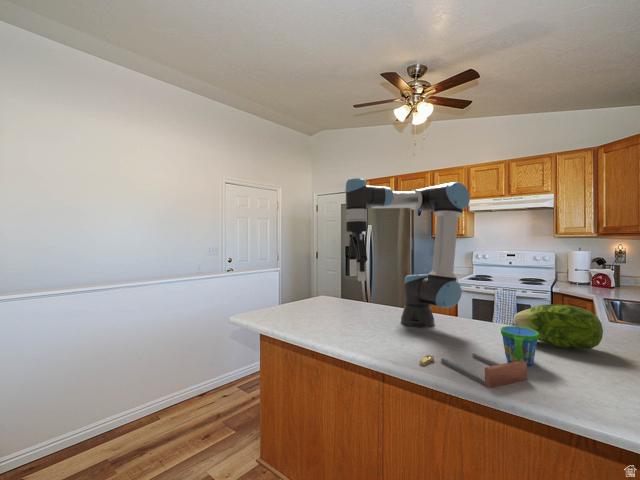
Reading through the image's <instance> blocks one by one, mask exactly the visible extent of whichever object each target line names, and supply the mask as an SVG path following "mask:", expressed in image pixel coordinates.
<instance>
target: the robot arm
mask: <svg viewBox="0 0 640 480" xmlns="http://www.w3.org/2000/svg"><path fill="white" fill-rule="evenodd" d="M344 193H345V208H346V209H345V212H344V215H346V224H345V225H346V226H345V227H346V229H345V231H346V232H347V233H350V234H349V244H348V255H347V256H348V258H349V259H348V260H349V277H357V281H358V282H365V281H366V280H367V278H366V277H367V276H366V275H367V273H366V271H367V270H366V267H367V266H366V265H367V264H366V262H367V261H368V253H367V248H366V238H365V232H367V230H368V225H367V224H368V222H367V220H368V217H367V216H368V214H367V213H368V212H367V210H368V209H409V210H413V211H425V212H426V211H427V212H433V214H434V215H435V216H436V225H435V235H434V236H435V237H434V248H433V258H432V269H431V271H429V272H428V273H426V274H425V273H424V274H423V273H421V274H408V275H405V277H404V283H403V285H404V287H403V288H404V290H403V291H404V293H403V294H404V306H403V309H402V310H403V311H402V314H401V317H400V322H401V324H403V325H405V326H407V327H414V328H429V327H433V326H435V318H434V314H433V312H432V308H431V305H432V306H435V307H436V306H437V307H439V308H446V309H451V308H453V307H456V305H457V304H458V303H459V302H460V300H461V298H462V294H463V292H462V291H463V289H462V286H461V284H460V283H459V282H458V281H457V276H456V274H455V273H454V268H455V255H456V246H457V245H456V244H457V234H458V222H459V218H460V217H461V216H463V210H464V209H466V208H468V206H469V205H470V200H471V197H470V193H469V190H468V189H467V187H466V185H464V184H463V183H462V182H459V181H456V182H451V181H450V182H447V183H442V184H439V185H431V186H428V187H424V188H418V189H415V188H413V189H411V191H398V190H396V191H395V190H393V189H391V187H389V186H388V187H387V186H384V185H382V186H380V185H379V186H377V185H367V180H366V179H364V178H350V179H347V181H346V183H345V192H344ZM362 232H363V233H362Z"/></svg>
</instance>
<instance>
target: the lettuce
mask: <svg viewBox="0 0 640 480" xmlns="http://www.w3.org/2000/svg"><path fill="white" fill-rule="evenodd" d="M512 322H513V326H517V327H524V328H529V329H532V330H535V331H537V332H538V333H539V339H538V340H537V341H539V342H542V343H545V344H548V345H552V346H555V347H559V348H562V349H568V350H569V349H570V350H591V349H593V348H595V347H597V346H599V344H600V343H601V341H602V339H603V336H604V335H603V334H604V329H603V325H602V322H601V320H600V319H599V317H598V316H597V315H596V314H594V313H593V312H592V311H590V310H589V309H585V308H582V307H578V306H573V305H567V304H566V305H565V304H540V305H536V306H532V307H530V308H527V309H524V310H522V311H519V312H517V313H516V314H514V317H513V320H512Z"/></svg>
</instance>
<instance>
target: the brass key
mask: <svg viewBox="0 0 640 480" xmlns="http://www.w3.org/2000/svg"><path fill="white" fill-rule="evenodd" d="M429 362H430V363H434V362H435V356H433V355H431V354H429V355H425V356H424V358H422V359H420V360H419V365H420V366H423V367H426V364H427V365H428V364H430V363H429Z"/></svg>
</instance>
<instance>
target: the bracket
mask: <svg viewBox="0 0 640 480" xmlns="http://www.w3.org/2000/svg"><path fill="white" fill-rule="evenodd" d="M472 358H474V359H476V360H479V361H480V362H483V363H485V364H487V365H489V366H485V367H484V378H483V377H481V376H480V375H477V374H476V373H474V372H472V371H470V370H468V369H466V368H464V367H462V366H459V365H458V364H457V363H454V362H452V361H450V360H448V359H446V358H441V362H440V363H442V364H443V363H444V365H445V366H447V367H449V368H450V369H451V368H452V370H455V371H457V372H458V373H460V372H461V373H460V374H462V373H463V374H462V375H464V376H466V377H468V378H470V379H472V380H474V381H475V382H477V383H480V384H482V385H484V386H485V387H487V388H489V389H491V388H495V387H500V386H504V385H509V384H514V383H518V382H521V381H526V380H527V379H528V378H527V377H528V371H527V370H528V368H527V367H528V365H527V362H525V361H523V360H520V361H515V362H510V361H509V362H505V363H498V362H496V361H495V360H492V359H490V358H488V357H485V356H482V355H480V354H478V353H475V352H473V353H472Z"/></svg>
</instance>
